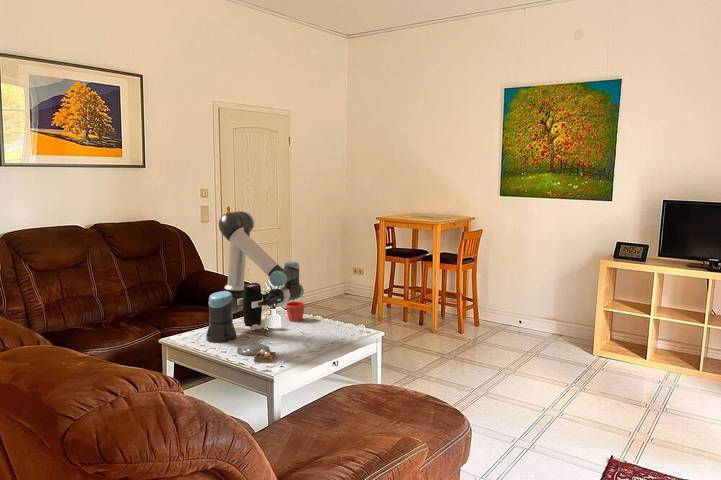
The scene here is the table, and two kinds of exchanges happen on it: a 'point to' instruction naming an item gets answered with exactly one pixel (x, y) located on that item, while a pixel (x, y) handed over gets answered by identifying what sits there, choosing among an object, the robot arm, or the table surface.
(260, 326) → the penguin
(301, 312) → the flower pot
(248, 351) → the slate trivet
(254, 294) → the portable speaker
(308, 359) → the table surface
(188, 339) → the table surface
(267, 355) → the brass ball
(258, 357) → the walnut dish
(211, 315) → the robot arm
